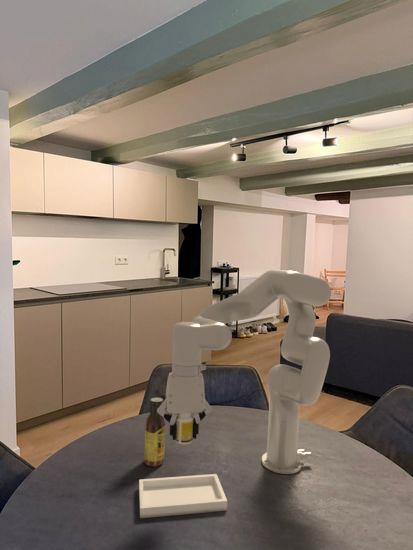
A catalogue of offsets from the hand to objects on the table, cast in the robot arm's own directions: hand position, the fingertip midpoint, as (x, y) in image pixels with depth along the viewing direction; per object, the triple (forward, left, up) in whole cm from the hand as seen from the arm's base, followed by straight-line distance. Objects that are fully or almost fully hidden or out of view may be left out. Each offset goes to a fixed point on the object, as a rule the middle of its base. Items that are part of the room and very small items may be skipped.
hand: (183, 436), depth 102 cm
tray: (0, 0, -17) cm, 17 cm away
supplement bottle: (0, 0, -1) cm, 1 cm away
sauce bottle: (+6, -19, -17) cm, 27 cm away
